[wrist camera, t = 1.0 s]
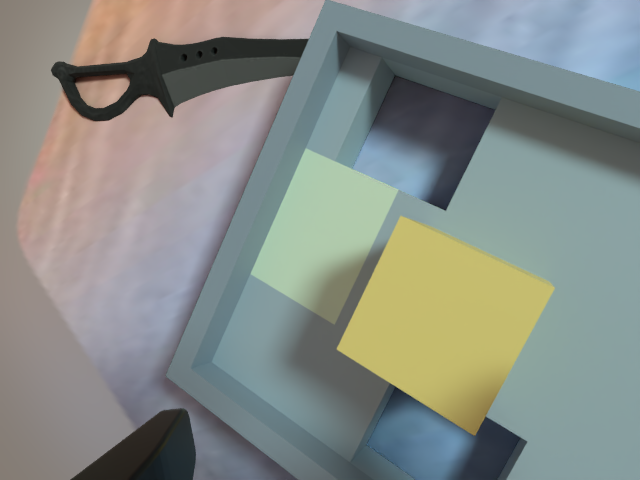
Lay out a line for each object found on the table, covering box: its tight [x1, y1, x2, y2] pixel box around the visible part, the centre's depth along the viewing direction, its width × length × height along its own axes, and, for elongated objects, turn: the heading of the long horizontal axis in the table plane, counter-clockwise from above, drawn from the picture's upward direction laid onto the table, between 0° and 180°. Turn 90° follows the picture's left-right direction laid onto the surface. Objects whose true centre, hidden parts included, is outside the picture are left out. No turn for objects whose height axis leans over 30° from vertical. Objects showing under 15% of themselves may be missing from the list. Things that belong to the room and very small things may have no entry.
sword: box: [51, 37, 309, 121], centre depth 24 cm, size 27×4×1 cm, turn 84°
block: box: [337, 216, 555, 436], centre depth 16 cm, size 4×4×4 cm
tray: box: [166, 0, 640, 480], centre depth 18 cm, size 17×17×4 cm
